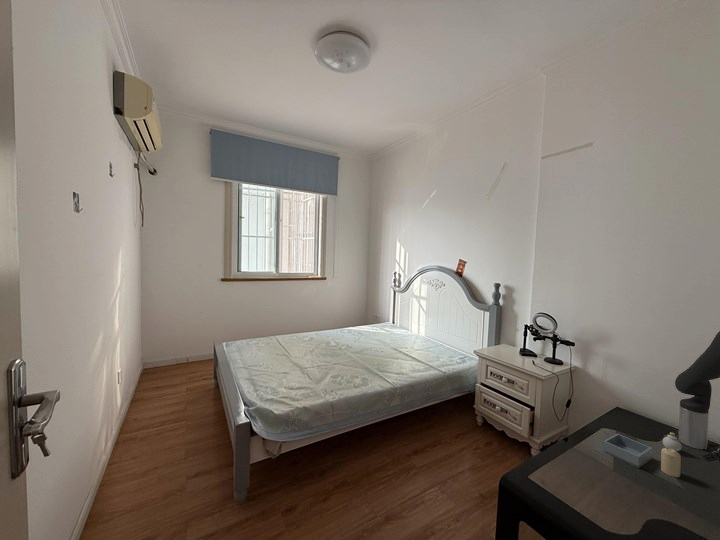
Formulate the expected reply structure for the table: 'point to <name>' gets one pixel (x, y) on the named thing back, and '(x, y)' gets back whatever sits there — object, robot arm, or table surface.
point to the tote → (627, 450)
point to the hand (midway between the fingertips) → (708, 455)
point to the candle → (670, 462)
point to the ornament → (672, 442)
